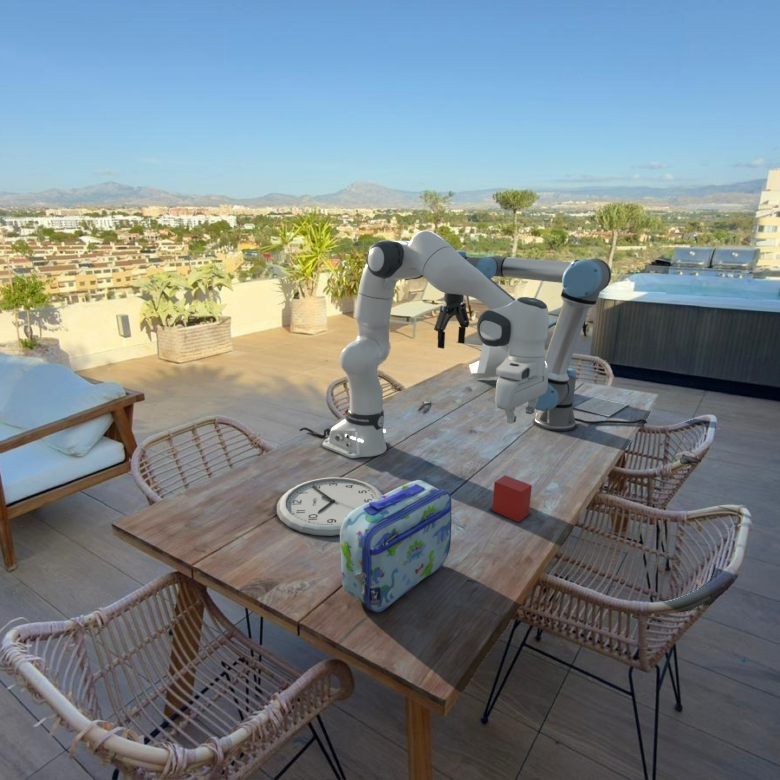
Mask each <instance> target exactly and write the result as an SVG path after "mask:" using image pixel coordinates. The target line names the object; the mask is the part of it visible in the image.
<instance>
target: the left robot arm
mask: <svg viewBox="0 0 780 780" xmlns="http://www.w3.org/2000/svg"><path fill="white" fill-rule="evenodd" d="M457 251H458V250H456V249H455V248H454V247H453V246H452V245H451V244H449V242H447V240H445V239H444V238H443V237H441V236H440V235H438V234H437V233H435V232H433V231H431V230H421V231H419V232H417V233H415V234H414V235H413V237H411V239H410V240H390V239H389V240H388V239H383V240H379V241H377V242H374V243H372V245H370V247H369V248H368V250H367V253H366V263H365V265H364V268H363V271H362V274H361V276H360V277H361V278H360V279H359V280H360V281H359V286H358V291H357V298H356V305H355V311H354V319H355V321H356V324H357V325H356V326H357V336H356V338H355V340H352V341H351V342H349V343H348V344H347V345H346V346H345V347H344V348H343V350H342V351H341V352H340V355H339V364H340V367H341V369H342V370H343V371H344V372H345V375H346V379H347V383H348V390H349V407H348V408H346V409H345V410H344V411H343V412H342V415H343V416H344V415H345V417H344V418H343V419H342V420H340V421H338V422H337V423H335V424H333V425H331V426H329V427H327V428H325V429H324V430H323V434H320V433H317V432H316V431H314V430H312V429H311V428H308V427H306V426H305V427H301V428H300V429H299V432H302V431H307V432H309V433H311V434H313V435H314V436H316V437H318V438H325V437H326V436H328V437H327V438H325V440H323V441H322V444H321V446H322V447H323V449H327V450H330V451H332V452H334V453H336V454H339V455H341V456H344V457H347V458H349V459H358V458H368V457H369V458H370V457H377V456H380V455H382V454H384V453H385V452H386V451H387V450H388V447H387V444H386V439H385V433H386V429H384V424H385V410H384V408H383V406H384V405H383V403H384V401H383V400H384V387H383V386H382V384H381V382H380V378H379V366H381V365H382V364H383V363H384V362H385V361H386V360H387V359H388V357H389V355H390V353H391V349H392V347H391V343H390V319H391V312H392V307H393V300H394V295H395V287H396V284H397V282H398V281H401V280H402V281H403V280H405V281H409V280H410V281H411V280H418V279H421V278H424V279H425V280H426V281H427V282H428V283H429V284H430V285H431V287H433V288H434V289H436V290H437V291H439V292H441V293H443V294H444V293H450V294H459V295H464V296H466V297H470V298H473V299H476V300H478V301H479V302H480V303H482V304H483V305H485V306H486V307H487V308H488V310H485V311H483V312H482V313H481V314H480V315H479V317H478V319H477V322H476V332H477V336H478V339H479V340H480V341H481V342H482V344H483V343H484V344H485V345H487V346H492V347H499V346H506V347H508V349H509V352H508V357H507V358H506V359H505V361H504V362H503V363H502V364H501V365H500V366H499V367H498V368H497V371H496V375H497V376H498V378H497V380H496V383H495V400H494V402H495V406H496V407H497V408H498V409H501V410H504V412H505V415H506V423H508V424H511V425H512V424H515V423H516V422H517V415H515V411H516V408H517V407H519V406H521V405H524V404H526V403H527V405H526V406H525V413H526V414H527V415H533V414H534V413H535V410H536V409H535V406H536V404H537V401H538V397H539V396H541V395H544V394H545V393H546V391H547V388H548V369H547V368H546V363H545V355H546V353H547V351H546V342H547V340H548V337H549V326H550V325H549V323H550V314H549V308H548V305H547V304H546V303H545V302H544V301H543V300H540V299H539V298H535V297H529V296H521V297H520V296H519V297H518V298H515V297H513V296H512V295H511V294H510V293H508V292H507V291H506V290H505V288H503V287H502V286H501V285H499V284H498V283H497V282H495V281H494V280H493V278H491V279H490V278H489V277H488V276H486V275H485V274H484V273H482V272H481V271H479V270H478V269H477V268H475V267H474V266H473V265H471V264H470V263H469V262H468V261H467V260H465V259H464V258H463V257H462V256H461V255H460V254H459V253H458V252H457ZM528 401H529V402H528Z"/></svg>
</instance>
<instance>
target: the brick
mask: <svg viewBox="0 0 780 780" xmlns="http://www.w3.org/2000/svg"><path fill="white" fill-rule="evenodd" d="M532 487H533V485H532V484H530V483H527V482H524V481H522V480H519V479H516V478H514V477H510V476H508V475H503V476H502V477H500V478H498V479H497V480H494V484H493V494H492V495H493V497H492V506H491V507H492V508H491V509H492V510H491V511H492V512H494V513H496V514H499V515H500V516H501V515H502V516H504V517H506V518H508V519H510V520H514V521H516V522H518V523H519V522H521V521H522V520H523V519H525V518H526V517H527V516H528V515H529V513H530V506H531V497H532Z"/></svg>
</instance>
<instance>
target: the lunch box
mask: <svg viewBox="0 0 780 780" xmlns="http://www.w3.org/2000/svg"><path fill="white" fill-rule="evenodd" d="M383 494H384V495H382V496H380V497H378V498H376V499H374V500H372V501H370V502H368V503H366V504H364V505H362V506H360V507H358V508H356V509H354V510H353V511H351V512H350V513H349V514H348V515H347V516H346V518H345V519H344V521H343V523H342V526H341V530H340V535H339V551H340V574H341V576H340V577H341V585H342V588H343V589H342V590H343V591H344V593H346V594H348V595H350V596H352V597H353V598H355V599H357V600H358V601H359V602H361V603H362V604H364V605H365V606H366V608H367V609H369V610H370V611H371V612H374V613H381V612H384V611H385V610H386V609H387V608H389V607H390V606H391V605H392V604H393V603H395V602H396V601H397V600H399V599H400V598H401V597H402V596H404V595H405V594H407V593H408V592H410V591H411V590H412V589H413V588H415V587H416V586H417V585H418V584H419V583H420V582H421V581H423V580H425V579H426V578H427V577H429V576H430V575H432V574H434V573H435V572H436V571H438V570H439V569H440V568H441V567H442V566H443V565H444V563H445V562H446V560H447V558H448V556H449V553H450V550H451V549H450V548H451V545H452V543H451V542H452V497H451V494H450V492H449V491H448V490H446V489H438V488H437V487H435V486H434V485H431V484H429V483H427V482H426V481H424V480H421V479H416V480H413V481H410V482H408V483H405V484H403V485H401V486H399V487H397V488H394V489H393V490H390V491H388V492H387V493H383Z"/></svg>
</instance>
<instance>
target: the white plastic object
mask: <svg viewBox="0 0 780 780" xmlns="http://www.w3.org/2000/svg"><path fill="white" fill-rule="evenodd" d="M508 352H509V349H508V347H506V346H499V347H492V346H487V345H485V344H484V343H483V342H482V346H481V351H480V355H479V360H477V361H475V362H473V363H471V364H468V366H469V371H470V374H471V376H472V377H473V379H474V380H480V379H489V378H496V377H498V378H499V376H497V375H496V371H497V368H498V367H499V366H500V365H501V364H502V363H503V362H504V361H505V359H506V358H507V357H508ZM545 356H546V355H545Z"/></svg>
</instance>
